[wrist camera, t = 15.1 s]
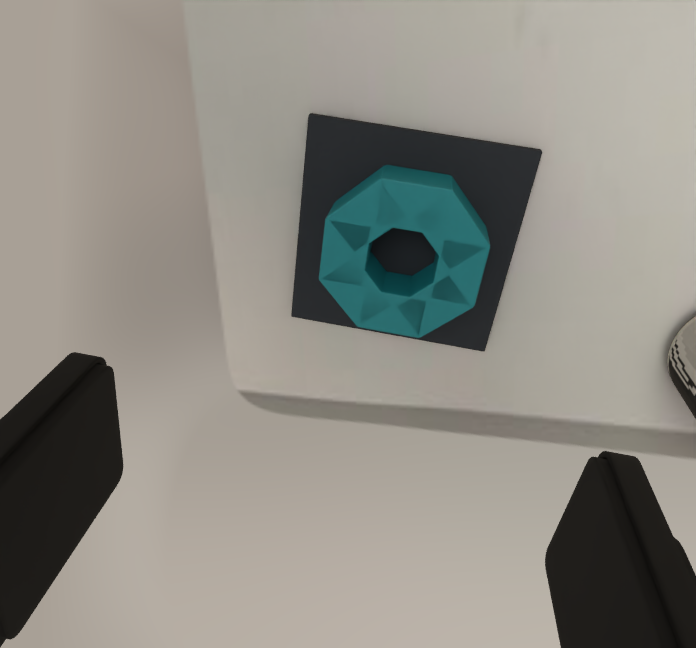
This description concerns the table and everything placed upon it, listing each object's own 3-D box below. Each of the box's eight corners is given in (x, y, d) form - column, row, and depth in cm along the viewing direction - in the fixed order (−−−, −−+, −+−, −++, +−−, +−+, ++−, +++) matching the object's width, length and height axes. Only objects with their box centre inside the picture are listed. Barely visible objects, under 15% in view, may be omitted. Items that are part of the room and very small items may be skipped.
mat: (292, 313, 30) (291, 316, 29) (310, 113, 25) (308, 114, 24) (483, 347, 29) (484, 351, 29) (541, 149, 24) (542, 151, 24)
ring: (323, 297, 28) (313, 319, 26) (339, 156, 25) (330, 169, 23) (462, 322, 28) (463, 346, 26) (498, 182, 24) (503, 198, 22)
